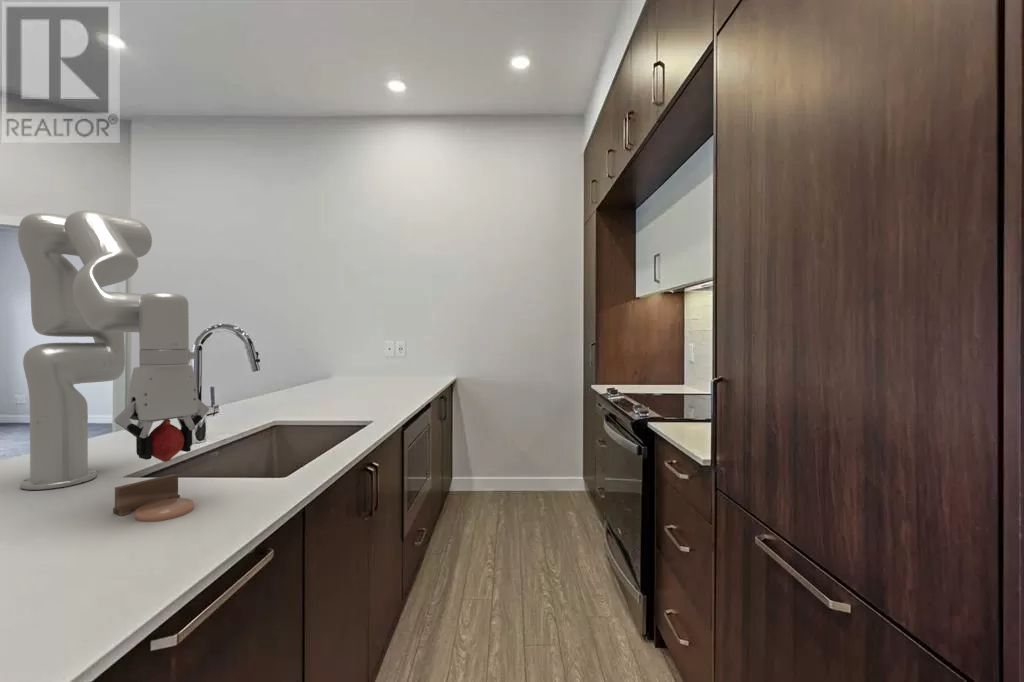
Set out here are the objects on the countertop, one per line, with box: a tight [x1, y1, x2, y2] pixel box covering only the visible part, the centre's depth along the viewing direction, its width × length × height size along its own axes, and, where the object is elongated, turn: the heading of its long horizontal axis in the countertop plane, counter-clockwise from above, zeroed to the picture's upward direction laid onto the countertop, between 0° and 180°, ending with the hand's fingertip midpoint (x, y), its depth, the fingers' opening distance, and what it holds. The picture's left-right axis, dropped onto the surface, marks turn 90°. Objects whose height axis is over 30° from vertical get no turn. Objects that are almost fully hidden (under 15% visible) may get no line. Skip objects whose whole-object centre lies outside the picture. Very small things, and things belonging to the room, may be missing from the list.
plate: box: [134, 497, 195, 523], centre depth 90 cm, size 9×9×1 cm
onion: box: [148, 419, 184, 463], centre depth 89 cm, size 6×6×8 cm
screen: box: [112, 473, 181, 517], centre depth 93 cm, size 3×10×5 cm, turn 151°
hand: (165, 453), depth 89 cm, fingers closed on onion, 5 cm apart
